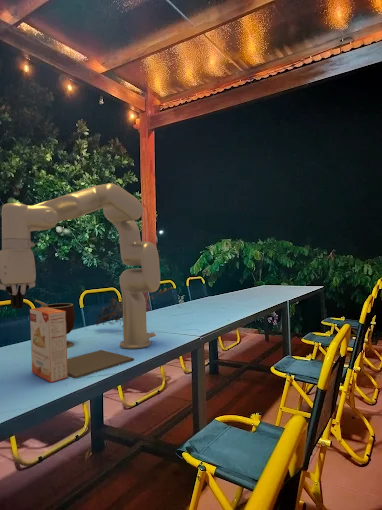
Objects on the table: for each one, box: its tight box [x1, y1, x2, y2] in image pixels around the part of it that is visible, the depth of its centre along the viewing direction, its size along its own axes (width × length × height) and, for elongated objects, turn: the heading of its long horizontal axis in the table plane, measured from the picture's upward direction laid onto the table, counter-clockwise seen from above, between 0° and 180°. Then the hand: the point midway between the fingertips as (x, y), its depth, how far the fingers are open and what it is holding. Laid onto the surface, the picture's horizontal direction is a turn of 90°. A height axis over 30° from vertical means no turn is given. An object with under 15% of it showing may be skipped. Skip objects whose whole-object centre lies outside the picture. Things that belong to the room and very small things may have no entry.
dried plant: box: [92, 286, 174, 328], centre depth 173 cm, size 30×31×45 cm
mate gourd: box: [34, 299, 76, 349], centre depth 150 cm, size 16×14×20 cm
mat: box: [67, 349, 135, 379], centre depth 124 cm, size 23×19×1 cm
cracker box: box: [29, 307, 69, 384], centre depth 112 cm, size 14×6×21 cm, turn 45°
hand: (17, 308), depth 105 cm, fingers closed
